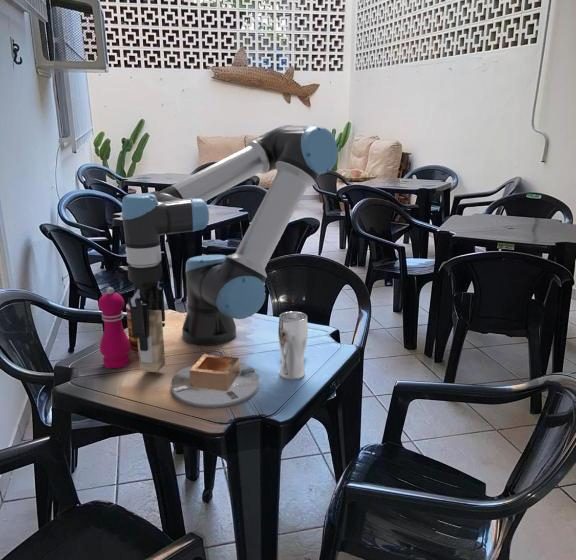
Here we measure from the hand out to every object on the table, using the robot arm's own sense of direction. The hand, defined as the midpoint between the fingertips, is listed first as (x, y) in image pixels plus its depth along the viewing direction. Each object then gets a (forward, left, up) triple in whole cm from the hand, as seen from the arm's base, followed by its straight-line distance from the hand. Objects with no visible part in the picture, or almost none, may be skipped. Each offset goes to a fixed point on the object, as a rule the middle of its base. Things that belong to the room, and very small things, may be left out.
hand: (152, 356), depth 126 cm
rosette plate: (+2, +17, -4) cm, 17 cm away
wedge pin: (0, 0, -3) cm, 3 cm away
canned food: (-14, -9, -5) cm, 17 cm away
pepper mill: (-3, -11, -5) cm, 12 cm away
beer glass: (-8, +33, -5) cm, 34 cm away
